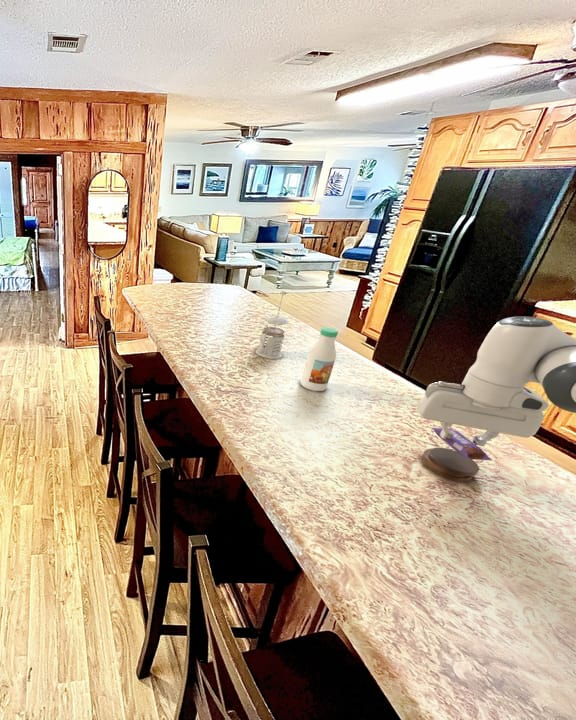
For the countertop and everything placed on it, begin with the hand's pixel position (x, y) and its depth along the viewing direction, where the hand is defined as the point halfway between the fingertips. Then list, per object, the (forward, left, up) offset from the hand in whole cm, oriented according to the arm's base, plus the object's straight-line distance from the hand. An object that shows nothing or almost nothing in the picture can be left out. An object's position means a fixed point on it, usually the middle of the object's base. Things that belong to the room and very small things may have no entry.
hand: (461, 440), depth 89 cm
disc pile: (0, 0, -8) cm, 8 cm away
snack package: (0, 0, -2) cm, 2 cm away
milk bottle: (+26, -32, -8) cm, 42 cm away
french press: (+40, -53, -8) cm, 67 cm away
